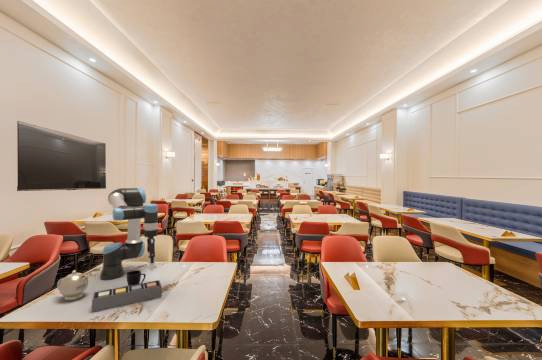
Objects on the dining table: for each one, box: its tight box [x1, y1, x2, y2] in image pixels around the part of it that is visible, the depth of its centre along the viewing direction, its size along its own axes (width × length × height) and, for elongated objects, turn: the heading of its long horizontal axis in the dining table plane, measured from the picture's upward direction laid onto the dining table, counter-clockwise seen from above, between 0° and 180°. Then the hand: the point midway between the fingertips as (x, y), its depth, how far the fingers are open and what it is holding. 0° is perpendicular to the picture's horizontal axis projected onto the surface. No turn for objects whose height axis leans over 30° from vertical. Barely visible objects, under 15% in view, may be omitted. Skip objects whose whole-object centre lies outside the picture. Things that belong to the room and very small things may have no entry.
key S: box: [131, 285, 142, 291], centre depth 148 cm, size 5×5×4 cm
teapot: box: [56, 269, 89, 302], centre depth 149 cm, size 18×14×16 cm
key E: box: [146, 282, 156, 288], centre depth 152 cm, size 5×5×4 cm
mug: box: [126, 270, 147, 286], centre depth 164 cm, size 8×12×10 cm
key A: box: [98, 291, 109, 298], centre depth 139 cm, size 5×5×4 cm
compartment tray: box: [91, 279, 163, 313], centre depth 146 cm, size 10×34×7 cm, turn 121°
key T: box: [116, 288, 126, 294], centre depth 144 cm, size 5×5×4 cm
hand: (150, 265), depth 152 cm, fingers open, 12 cm apart
